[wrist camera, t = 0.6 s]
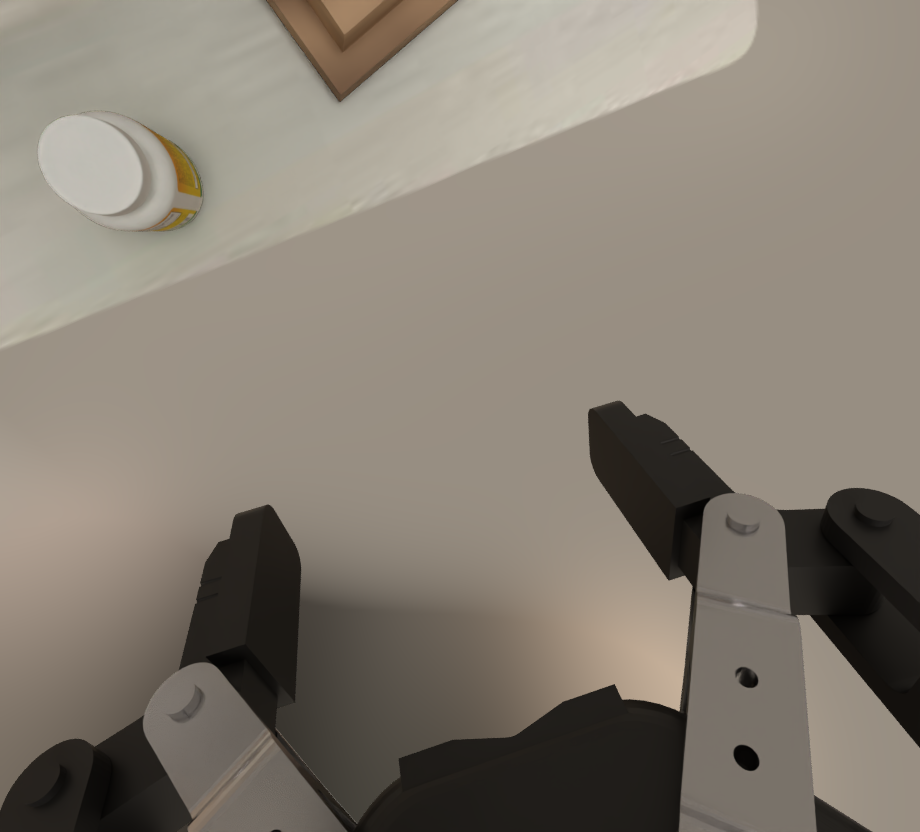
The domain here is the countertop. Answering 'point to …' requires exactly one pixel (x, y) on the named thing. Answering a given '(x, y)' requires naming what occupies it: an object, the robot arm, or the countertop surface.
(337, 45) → the walnut pedestal
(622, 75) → the countertop surface
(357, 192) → the countertop surface
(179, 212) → the supplement bottle
